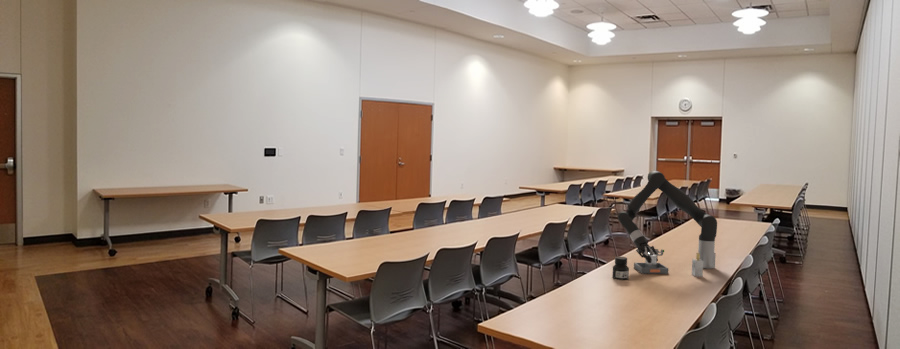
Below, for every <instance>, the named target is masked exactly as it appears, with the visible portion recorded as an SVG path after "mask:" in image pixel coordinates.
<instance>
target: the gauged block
mask: <svg viewBox="0 0 900 349" xmlns="http://www.w3.org/2000/svg"><path fill="white" fill-rule="evenodd" d="M695 255H696V256H695V258H692V261H691V276H692V277H696V278H699V277H700V278H701V277H703V275H704V274H703V273H704V268H703V260H701V259H700V253H698V252H696V254H695Z"/></svg>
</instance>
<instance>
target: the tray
mask: <svg viewBox="0 0 900 349" xmlns="http://www.w3.org/2000/svg"><path fill="white" fill-rule="evenodd" d="M633 269H634V270H635V271H637V272H638V273H640V274H641V275H669V267H667V266H666V265H664V264H662V263H660V262H657V263H656V268H645V262H633Z"/></svg>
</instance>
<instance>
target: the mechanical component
mask: <svg viewBox="0 0 900 349" xmlns="http://www.w3.org/2000/svg"><path fill="white" fill-rule="evenodd" d="M655 250H656V253H657V254H656V255H657V259H658V257H661V256H663V255H664V253H665V249H663V248H662V249H660V251H659V249H658V248H655ZM650 252H651V251H650ZM650 252H649V253H650ZM651 254H652V253H651ZM656 263H658V261H657V262H656Z"/></svg>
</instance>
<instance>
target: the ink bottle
mask: <svg viewBox="0 0 900 349" xmlns="http://www.w3.org/2000/svg"><path fill="white" fill-rule="evenodd" d="M629 269H630V267H629V266H628V257H625V256H615V257H614V264H613V265H612V275H611V276H612V278H613V279H615V280H619V281H620V280H622V281H623V280H624V281H625V280H628V279H629V277H630V274H629V273H630V272H629Z"/></svg>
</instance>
